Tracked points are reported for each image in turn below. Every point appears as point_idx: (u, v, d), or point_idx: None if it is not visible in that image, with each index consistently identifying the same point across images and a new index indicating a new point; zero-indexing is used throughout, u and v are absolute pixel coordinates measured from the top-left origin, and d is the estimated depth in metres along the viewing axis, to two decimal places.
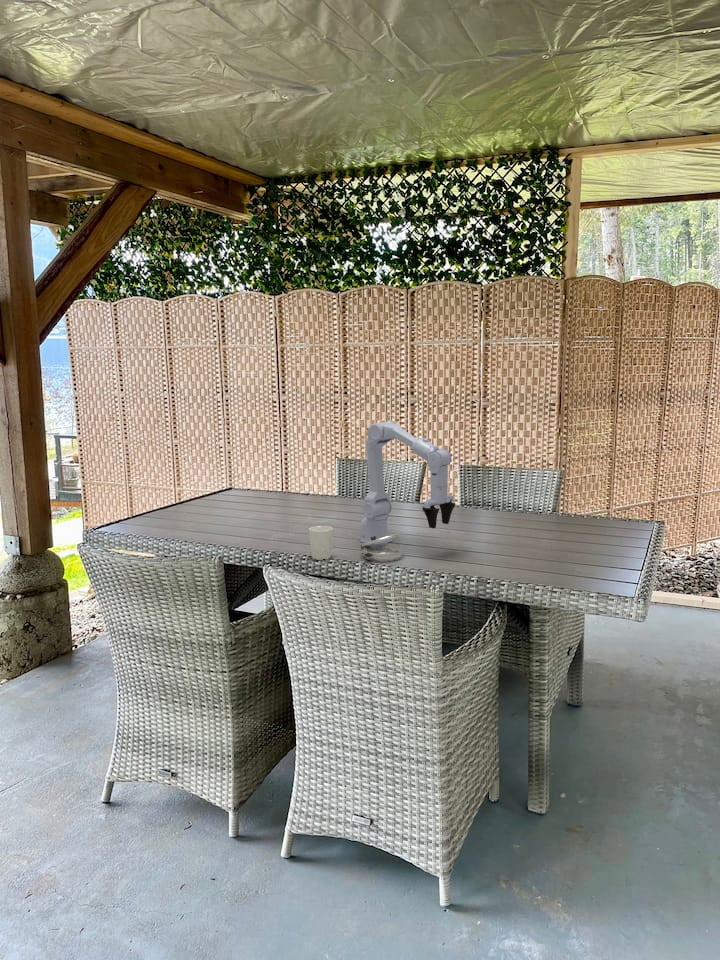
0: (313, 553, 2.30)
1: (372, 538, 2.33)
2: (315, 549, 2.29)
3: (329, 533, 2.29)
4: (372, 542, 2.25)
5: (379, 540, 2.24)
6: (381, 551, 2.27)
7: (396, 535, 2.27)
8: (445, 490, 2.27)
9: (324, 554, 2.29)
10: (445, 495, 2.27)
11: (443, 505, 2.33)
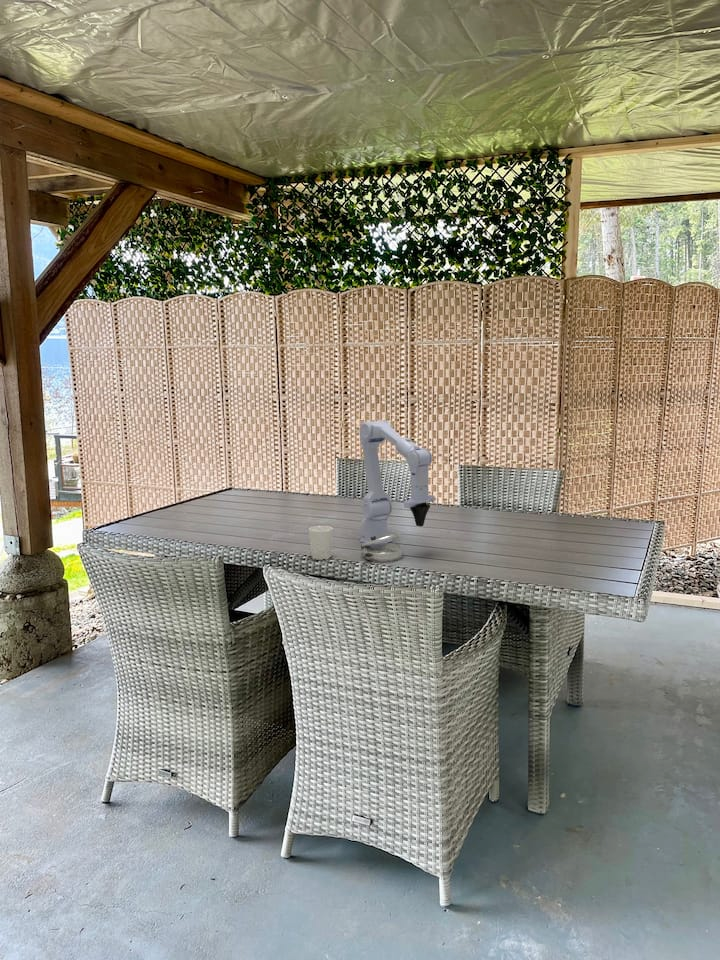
0: (313, 553, 2.30)
1: (372, 538, 2.33)
2: (315, 549, 2.29)
3: (329, 533, 2.29)
4: (372, 542, 2.25)
5: (379, 540, 2.24)
6: (381, 551, 2.27)
7: (396, 535, 2.27)
8: (425, 490, 2.26)
9: (324, 554, 2.29)
10: (425, 495, 2.27)
11: None
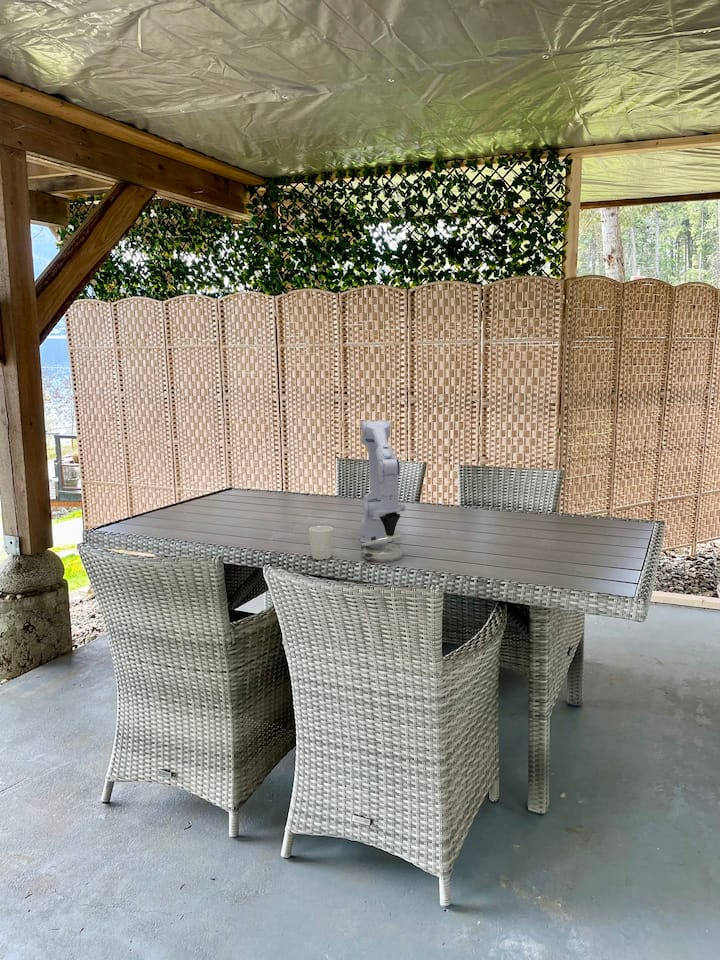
0: (313, 553, 2.30)
1: (372, 538, 2.33)
2: (315, 549, 2.29)
3: (329, 533, 2.29)
4: (372, 542, 2.25)
5: (379, 540, 2.24)
6: (381, 551, 2.27)
7: (396, 536, 2.27)
8: (395, 499, 2.24)
9: (324, 554, 2.29)
10: (395, 504, 2.25)
11: None
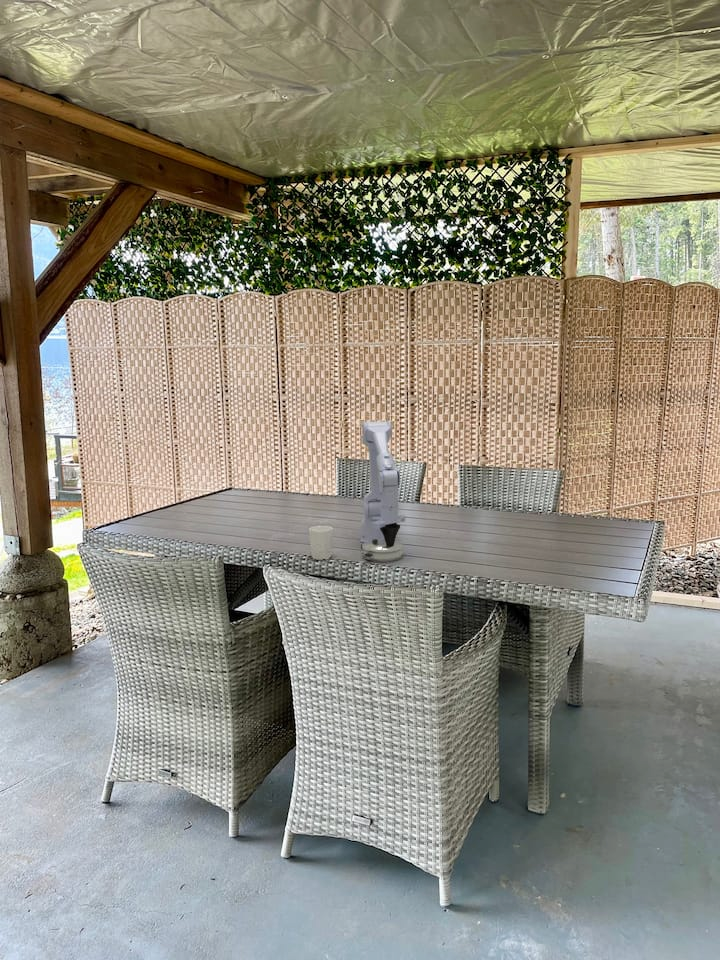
0: (313, 553, 2.30)
1: (374, 542, 2.32)
2: (315, 549, 2.29)
3: (329, 533, 2.29)
4: (374, 551, 2.25)
5: (381, 551, 2.24)
6: None
7: (398, 548, 2.27)
8: (395, 510, 2.25)
9: (324, 554, 2.29)
10: (395, 515, 2.25)
11: None
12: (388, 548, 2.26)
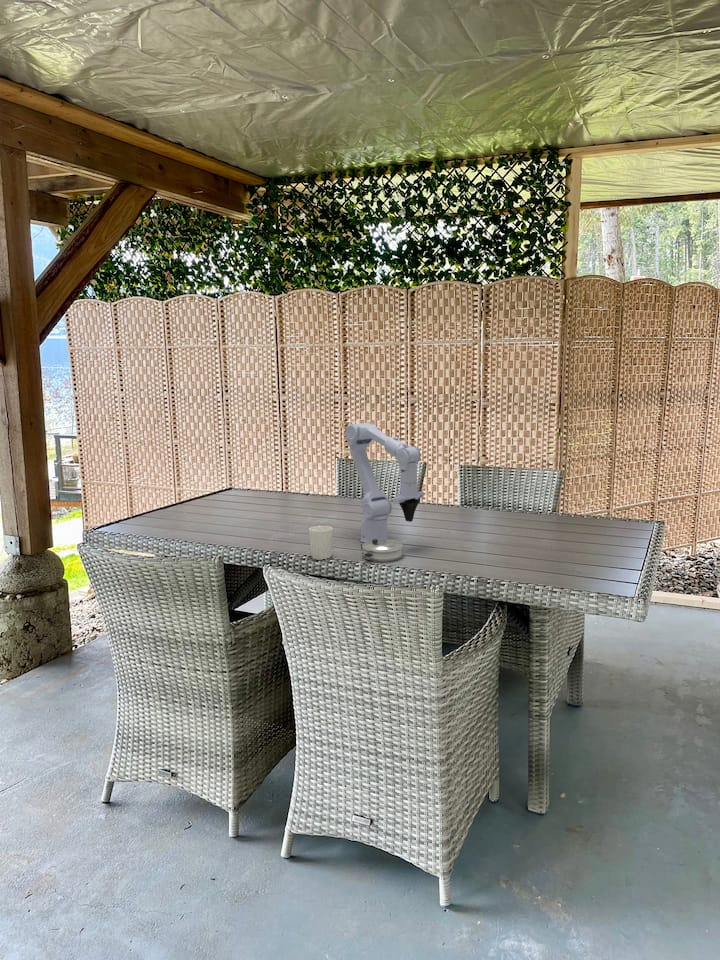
0: (313, 553, 2.30)
1: (374, 542, 2.32)
2: (315, 549, 2.29)
3: (329, 533, 2.29)
4: (374, 551, 2.25)
5: (381, 551, 2.24)
6: None
7: (398, 548, 2.27)
8: (414, 486, 2.33)
9: (324, 554, 2.29)
10: (414, 491, 2.34)
11: None
12: (388, 548, 2.26)
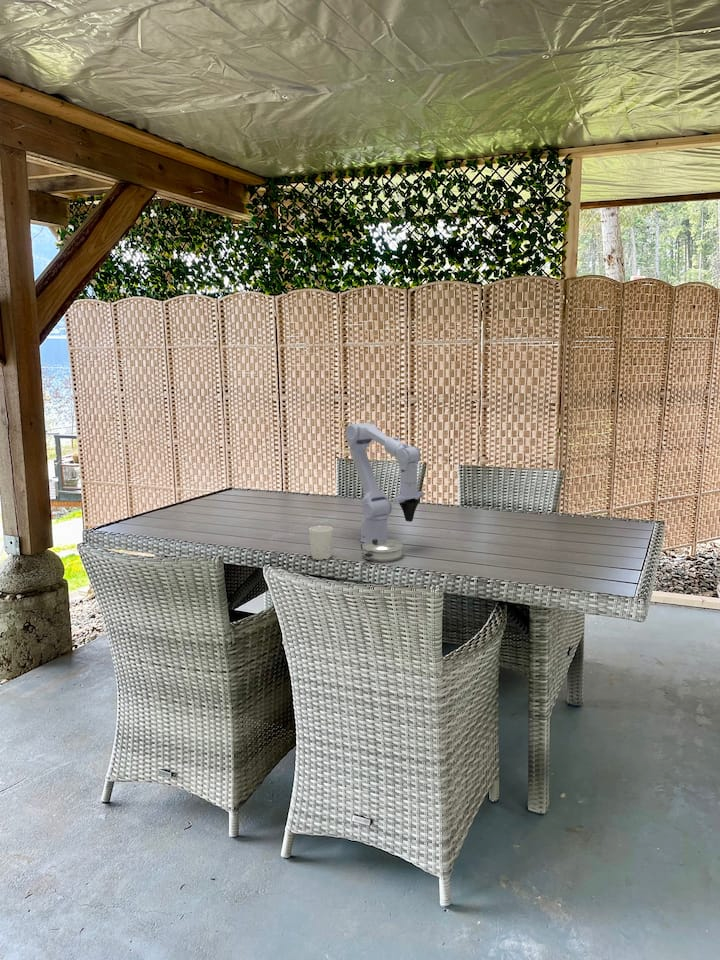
0: (313, 553, 2.30)
1: (374, 542, 2.32)
2: (315, 549, 2.29)
3: (329, 533, 2.29)
4: (374, 551, 2.25)
5: (381, 551, 2.24)
6: None
7: (398, 548, 2.27)
8: (414, 486, 2.33)
9: (324, 554, 2.29)
10: (414, 491, 2.34)
11: None
12: (388, 548, 2.26)
